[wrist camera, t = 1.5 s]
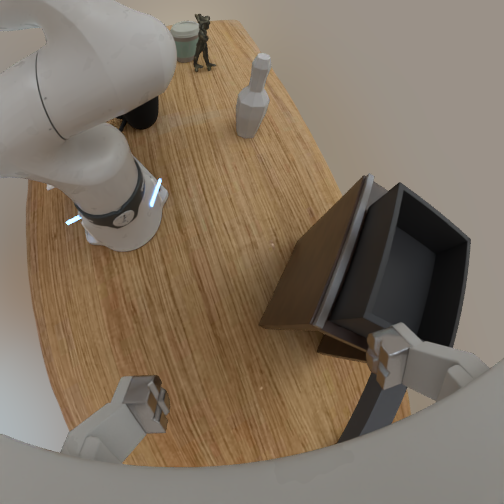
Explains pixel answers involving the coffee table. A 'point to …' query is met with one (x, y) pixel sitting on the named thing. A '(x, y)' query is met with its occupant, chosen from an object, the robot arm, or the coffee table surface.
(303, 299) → the stand
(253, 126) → the faceted bottle
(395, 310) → the basket
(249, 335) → the coffee table surface
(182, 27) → the coffee cup
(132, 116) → the mug
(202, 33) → the statue
